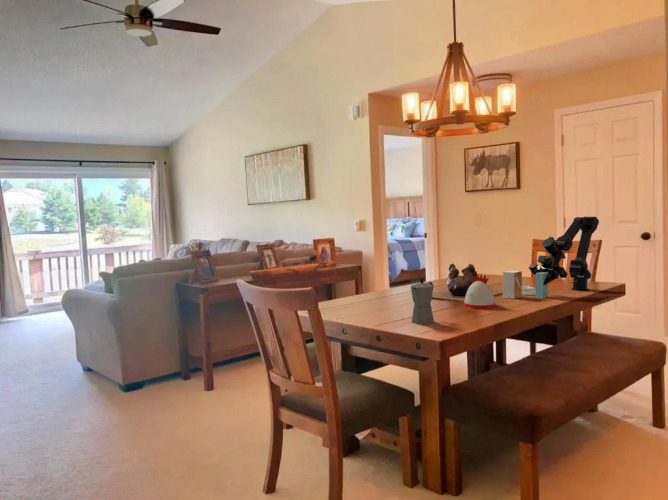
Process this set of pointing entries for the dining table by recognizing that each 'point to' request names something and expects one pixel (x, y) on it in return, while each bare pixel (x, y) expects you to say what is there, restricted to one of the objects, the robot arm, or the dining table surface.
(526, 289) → the plinth
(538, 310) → the dining table surface
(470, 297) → the kitchen timer
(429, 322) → the coffeepot
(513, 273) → the small box
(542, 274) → the pillar
